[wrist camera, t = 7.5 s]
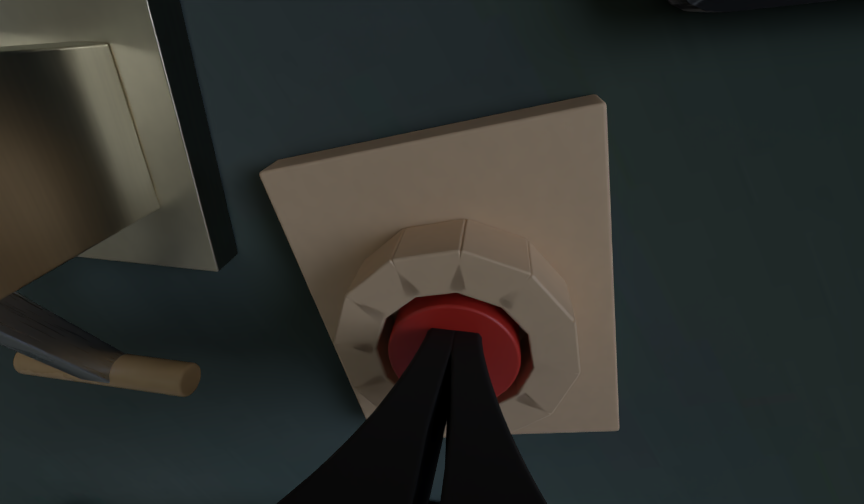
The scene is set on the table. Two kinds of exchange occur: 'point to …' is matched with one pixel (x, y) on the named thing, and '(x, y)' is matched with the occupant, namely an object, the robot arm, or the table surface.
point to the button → (459, 316)
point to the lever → (84, 353)
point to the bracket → (104, 141)
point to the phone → (734, 4)
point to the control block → (469, 249)
